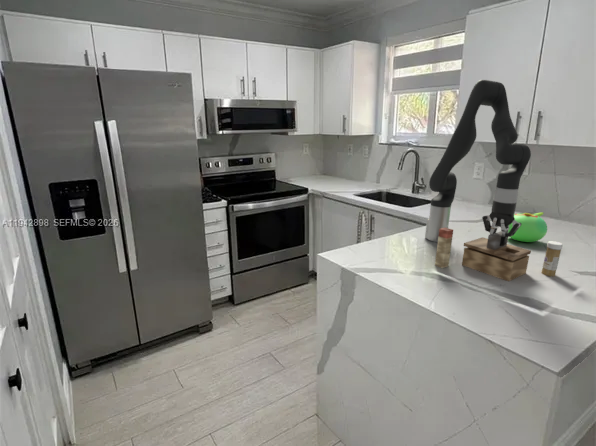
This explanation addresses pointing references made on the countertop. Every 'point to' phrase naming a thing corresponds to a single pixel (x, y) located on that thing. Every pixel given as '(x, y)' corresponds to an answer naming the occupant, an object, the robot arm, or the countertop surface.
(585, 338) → the countertop surface
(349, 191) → the countertop surface
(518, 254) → the lid
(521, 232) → the green rounded piece
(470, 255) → the wooden box
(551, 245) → the sprinkles bottle
